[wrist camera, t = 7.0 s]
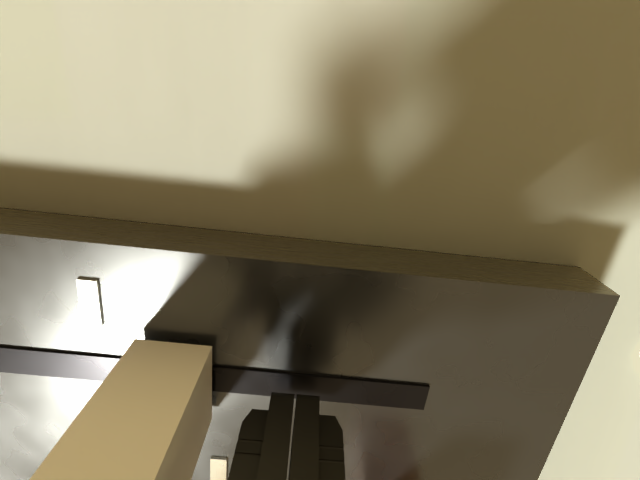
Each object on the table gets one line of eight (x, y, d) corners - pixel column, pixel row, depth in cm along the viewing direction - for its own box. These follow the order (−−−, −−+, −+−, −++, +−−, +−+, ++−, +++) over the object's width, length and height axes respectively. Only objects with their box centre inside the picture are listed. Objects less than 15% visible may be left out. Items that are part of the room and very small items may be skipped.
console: (-127, 195, 13) (-242, 222, 10) (579, 267, 14) (640, 310, 11) (-21, 515, 19) (-77, 584, 16) (467, 553, 19) (489, 625, 17)
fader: (134, 338, 12) (15, 497, 7) (211, 346, 12) (142, 507, 7) (140, 412, 13) (40, 590, 8) (211, 418, 13) (150, 598, 9)
